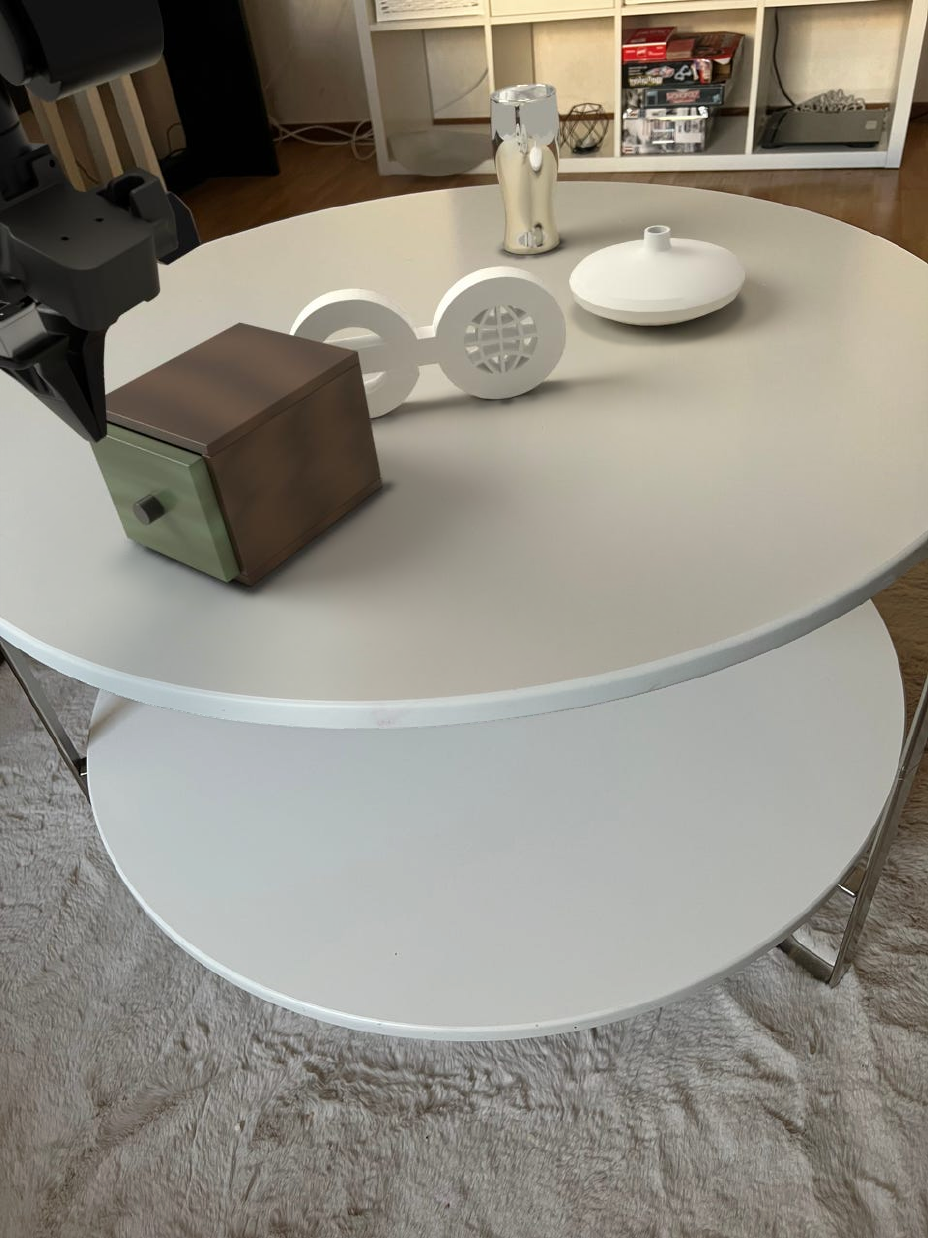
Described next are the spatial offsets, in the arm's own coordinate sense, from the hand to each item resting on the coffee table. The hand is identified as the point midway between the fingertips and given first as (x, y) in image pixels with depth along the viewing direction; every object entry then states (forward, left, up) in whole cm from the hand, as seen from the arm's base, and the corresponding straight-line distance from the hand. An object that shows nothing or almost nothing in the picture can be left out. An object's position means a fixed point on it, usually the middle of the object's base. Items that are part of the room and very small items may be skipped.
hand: (96, 438), depth 53 cm
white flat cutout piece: (+28, +13, -14) cm, 34 cm away
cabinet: (+10, +8, -13) cm, 18 cm away
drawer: (+8, +7, -12) cm, 16 cm away
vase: (+53, +14, -14) cm, 56 cm away
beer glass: (+55, +36, -14) cm, 67 cm away
